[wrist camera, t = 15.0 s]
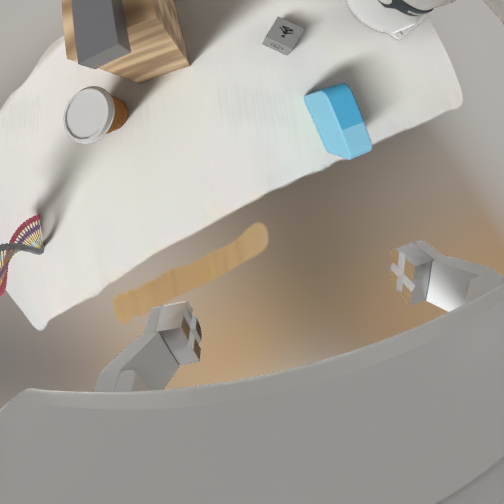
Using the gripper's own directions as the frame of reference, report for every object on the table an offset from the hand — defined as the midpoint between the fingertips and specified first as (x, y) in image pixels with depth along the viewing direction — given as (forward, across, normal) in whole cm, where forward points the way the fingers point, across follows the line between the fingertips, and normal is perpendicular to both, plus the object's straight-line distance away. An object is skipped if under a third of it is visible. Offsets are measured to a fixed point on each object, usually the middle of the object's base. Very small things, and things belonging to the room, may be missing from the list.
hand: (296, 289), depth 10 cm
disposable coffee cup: (+43, +22, -15) cm, 51 cm away
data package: (+43, -17, -3) cm, 47 cm away
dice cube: (+43, -12, -21) cm, 50 cm away
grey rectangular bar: (+17, +10, -26) cm, 33 cm away
